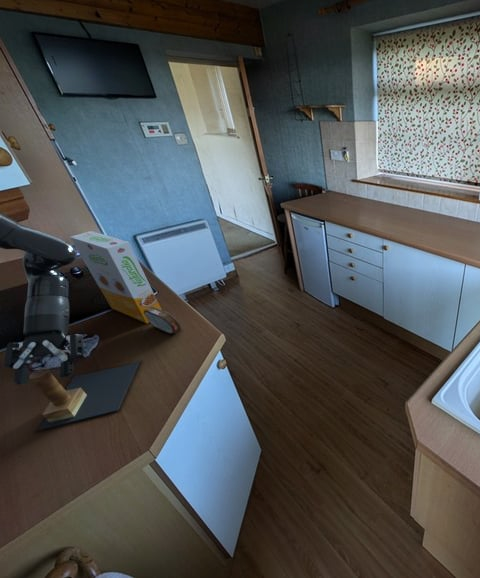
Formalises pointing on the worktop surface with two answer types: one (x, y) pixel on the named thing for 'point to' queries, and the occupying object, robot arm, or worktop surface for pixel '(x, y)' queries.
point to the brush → (57, 396)
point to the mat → (98, 393)
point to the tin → (162, 320)
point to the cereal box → (116, 273)
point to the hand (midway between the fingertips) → (44, 380)
